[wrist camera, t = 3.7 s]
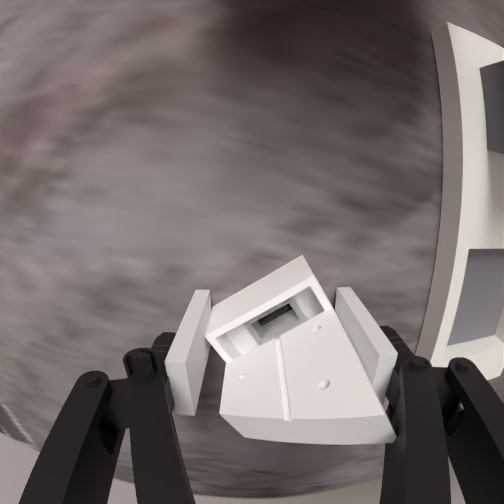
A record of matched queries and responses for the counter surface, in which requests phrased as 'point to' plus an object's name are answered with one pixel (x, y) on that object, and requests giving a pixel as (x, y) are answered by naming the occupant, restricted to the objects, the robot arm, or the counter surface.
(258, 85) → the counter surface
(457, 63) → the white slotted base plate
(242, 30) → the counter surface
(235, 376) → the white angled block
